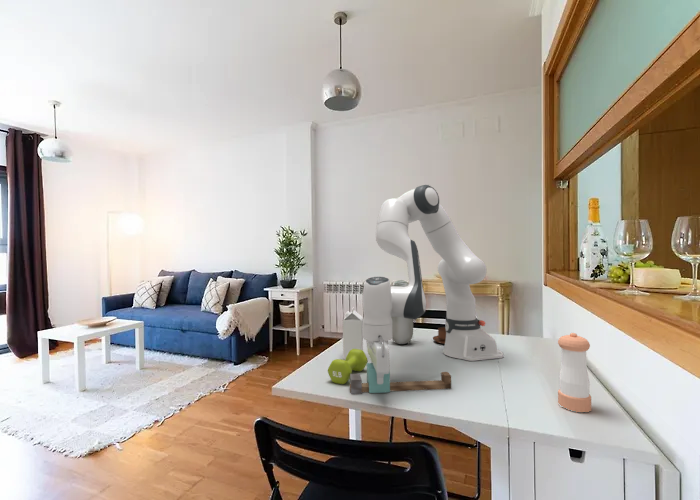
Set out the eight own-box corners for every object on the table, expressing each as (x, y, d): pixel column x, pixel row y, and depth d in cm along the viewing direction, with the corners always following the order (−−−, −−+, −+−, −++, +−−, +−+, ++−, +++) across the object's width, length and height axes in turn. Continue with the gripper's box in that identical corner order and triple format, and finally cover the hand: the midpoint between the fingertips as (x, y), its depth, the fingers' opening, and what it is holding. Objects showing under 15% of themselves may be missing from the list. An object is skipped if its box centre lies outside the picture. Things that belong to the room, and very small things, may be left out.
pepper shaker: (558, 409, 89) (557, 334, 89) (558, 398, 95) (557, 328, 96) (592, 415, 85) (591, 337, 86) (590, 404, 92) (589, 331, 92)
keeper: (386, 384, 106) (386, 362, 106) (389, 392, 100) (389, 368, 100) (367, 385, 106) (366, 363, 106) (369, 393, 100) (369, 369, 100)
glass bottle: (393, 339, 161) (392, 279, 161) (415, 341, 157) (414, 279, 157) (387, 345, 152) (386, 280, 152) (410, 347, 148) (409, 281, 148)
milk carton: (363, 354, 138) (362, 306, 138) (361, 360, 131) (361, 309, 131) (345, 354, 138) (344, 306, 139) (343, 360, 131) (342, 309, 131)
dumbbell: (349, 367, 124) (348, 346, 124) (369, 370, 120) (369, 349, 120) (325, 383, 109) (325, 360, 109) (348, 387, 105) (348, 363, 105)
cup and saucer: (427, 341, 159) (427, 327, 159) (448, 338, 163) (448, 325, 163) (444, 347, 148) (444, 333, 148) (466, 344, 152) (466, 330, 152)
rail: (446, 383, 107) (446, 370, 107) (452, 390, 102) (452, 376, 102) (349, 387, 105) (349, 374, 105) (350, 394, 100) (350, 380, 100)
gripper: (395, 340, 93) (395, 392, 93) (382, 324, 113) (382, 367, 113) (371, 341, 92) (372, 393, 92) (363, 325, 113) (363, 367, 113)
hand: (378, 378), depth 103 cm, fingers closed on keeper, 5 cm apart
